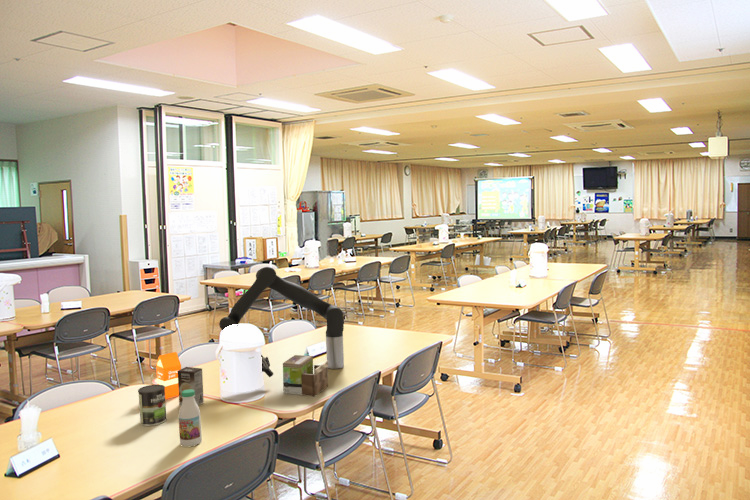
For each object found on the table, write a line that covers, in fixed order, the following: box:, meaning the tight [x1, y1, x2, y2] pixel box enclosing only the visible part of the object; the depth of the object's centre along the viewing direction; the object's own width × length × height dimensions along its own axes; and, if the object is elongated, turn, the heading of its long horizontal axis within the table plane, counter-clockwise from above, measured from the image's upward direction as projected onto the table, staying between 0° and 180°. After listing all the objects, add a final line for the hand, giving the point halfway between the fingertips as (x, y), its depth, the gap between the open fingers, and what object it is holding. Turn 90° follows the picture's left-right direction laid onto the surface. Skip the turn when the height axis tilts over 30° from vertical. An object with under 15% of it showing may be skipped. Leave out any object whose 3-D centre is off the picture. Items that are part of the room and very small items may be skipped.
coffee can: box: [137, 384, 167, 427], centre depth 225 cm, size 10×10×14 cm
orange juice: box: [155, 351, 182, 400], centre depth 257 cm, size 8×9×20 cm
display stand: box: [301, 360, 329, 397], centre depth 257 cm, size 15×7×12 cm, turn 162°
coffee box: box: [178, 366, 205, 406], centre depth 244 cm, size 9×6×16 cm
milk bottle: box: [178, 389, 203, 447], centre depth 202 cm, size 8×8×20 cm
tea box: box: [282, 354, 314, 395], centre depth 260 cm, size 15×10×15 cm, turn 166°
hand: (271, 375), depth 264 cm, fingers closed
